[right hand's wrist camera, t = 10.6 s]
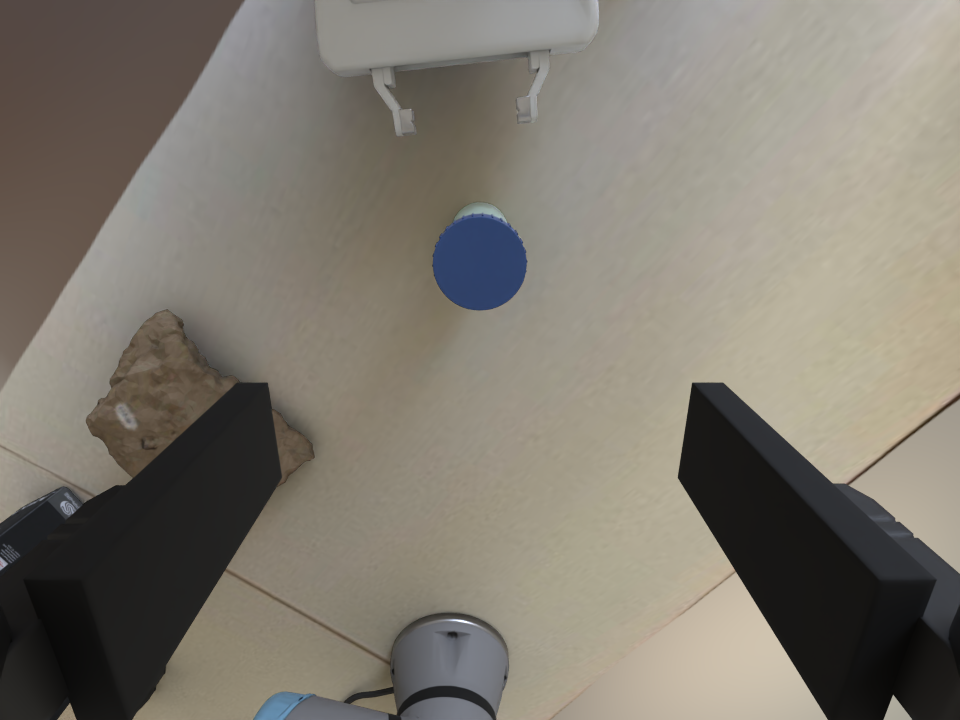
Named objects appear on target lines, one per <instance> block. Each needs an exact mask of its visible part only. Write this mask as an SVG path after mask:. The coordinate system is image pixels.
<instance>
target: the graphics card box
mask: <svg viewBox="0 0 960 720" xmlns="http://www.w3.org/2000/svg"><path fill="white" fill-rule="evenodd" d="M82 505H83V504H82V503H81V502H80V501H79V500H78V499H77V498H76V497H75V496H74V494H73V493H72V492H71V491H70V490H69V489H68V488H66V487H64V486H63V487H61V488H59V489H56V490H54V491H53V492H51V493H49V494H47V495H45V496H43V497H41V498H38V499H37V500H35V501H33V502H31V503H29V504H27V505H26V506H24V507H22V508H20V509H19V510H18V511H17V512H15V513H14V514H13V515H11V516H10V517H9V518H7V519H6V520H5V521H3V522H2V523H0V577H1V576H2V575H3V574H4V573H5V572H6V571H8V570H9V569H10V568H11V567H12V566H13V565H14V564H16V563H17V562H18V561H19V560H20V559H21V558H22V557H24V556H25V555H26V554H27V553H28V552H29V551H31V550H32V549H33V548H34V547H35V546H36V545H37V544H39V543H40V542H41V541H42V540H47V536H48V535H49V534H50V533H51V532H52V531H53V530H55V529H56V528H57V527H58V526H59V525H60V524H65V522H66V519H67V518H68V517H70V516H71V515H72V514H73V513H74V512H75V511H76V510H78V509H79V508H80V507H81V506H82ZM69 703H70V701H69V698H68V697H67V698H66V699H65V700H64V702H63V703H62V704H61V706H60V707H59V708H58V710H57V711H56V712H55V713H54V715H53V716H52V717H51V719H50V720H57V719H58V718H59V716H60V715H61V714H62V712H63V711H64V710H65V709H66V707H67V706H68V705H69Z"/></svg>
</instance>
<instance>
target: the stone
mask: <svg viewBox="0 0 960 720" xmlns="http://www.w3.org/2000/svg"><path fill="white" fill-rule="evenodd" d="M183 325H184V324H183V321H182V319H180V318H179V317H177V316H175V315H174V314H173V313H172V312H170V311H169V310H168V309H166V310H163V311H160V312H158V313H155V314H154V315H153V316H152V317H151V318H149V319H148V320H146V322H145V323H144V324H143V325H142V326H141V328H140V329H139V330H138V331H137V333H136V334H135V335H134V337H133V338H132V340H131V342H130V345H129V346H128V348H127V349H125V350H124V351H123V355H122V357H121V358H120V361H119V365H118V368H117V369H116V371H115V373H114V375H113V376H112V377H111V378H110V385H111V388H112V389H111V390H110V392H109V393H108V395H107V397H106V398H101V399H100V400H98V405H97V406H96V407H95V409H94V410H93V411H92V413H91V414H89V415H88V416H87V419H86V423H87V425H88V428H89V430H90V432H91V433H92V435H93V436H96V437H98V438H100V439H101V440H103V442H104V443H105V445H106V446H107V448H108V451H109V454H110V455H111V456H113V458H114V459H115V461H116V462H117V463H118V464H119V465H120V466H121V467H122V468H123V469H124V470H125V471H126V472H127V473H128V474H129V475H130V476H131V477H133V478H134V477H135V476H136V475H137V474H138V473H139V472H140V471H142V470H143V469H144V468H145V467H146V466H147V465H148V464H149V463H150V462H151V461H152V460H153V459H155V458H156V457H157V456H158V455H159V454H160V453H161V452H162V451H163V450H164V449H165V448H167V447H168V446H169V445H170V444H171V443H172V442H173V441H174V440H175V439H176V438H177V437H178V436H180V435H181V434H182V433H183V432H184V431H185V430H186V429H187V428H188V427H189V426H190V425H192V424H193V423H194V422H195V421H196V420H197V419H198V418H199V417H200V416H201V415H202V414H203V413H205V412H206V411H207V410H208V409H209V408H210V407H211V406H212V405H213V404H214V403H215V402H217V401H218V400H219V399H220V398H221V397H222V396H223V395H224V394H225V393H226V392H227V391H228V390H230V389H231V388H232V387H233V386H234V385H235V384H236V383H240V382H239V380H238V379H237V378H235V377H234V376H232V375H231V376H226V377H222V376H221V375H220V373H219V372H218V371H217V370H215V369H212V368H210V367H209V365H208V363H207V361H206V359H205V357H204V356H202V355H201V354H199V353H198V348H197V347H196V345H195V344H194V342H193V341H191V340H189V339H188V338H187V337H186V335H185V333H184V330H183ZM272 414H273V420H274V427H275V434H276V440H277V447H278V453H279V460H280V466H281V473H282V479H281V481H280V482H279V484H278V485H277V487H278V486H279V485H281V484H283V483H285V482H286V480H287V478H288V476H289V475H290V474H292V473H293V472H294V471H295V470H296V469H297V468H298V467H299V466H300V465H302V464H303V463H304V462H305V461H310V460H312V459H313V458H314V451H313V446H312V443H310V442H309V441H308V439H307V438H306V437H305V436H304V435H302V434H301V433H299V432H298V431H296V430H295V429H293V428H291V427H289V426H288V425H287V422H286V421H284V419H283V417H282V415H281V413H279V412H277V411H275V410H273V409H272Z"/></svg>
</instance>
